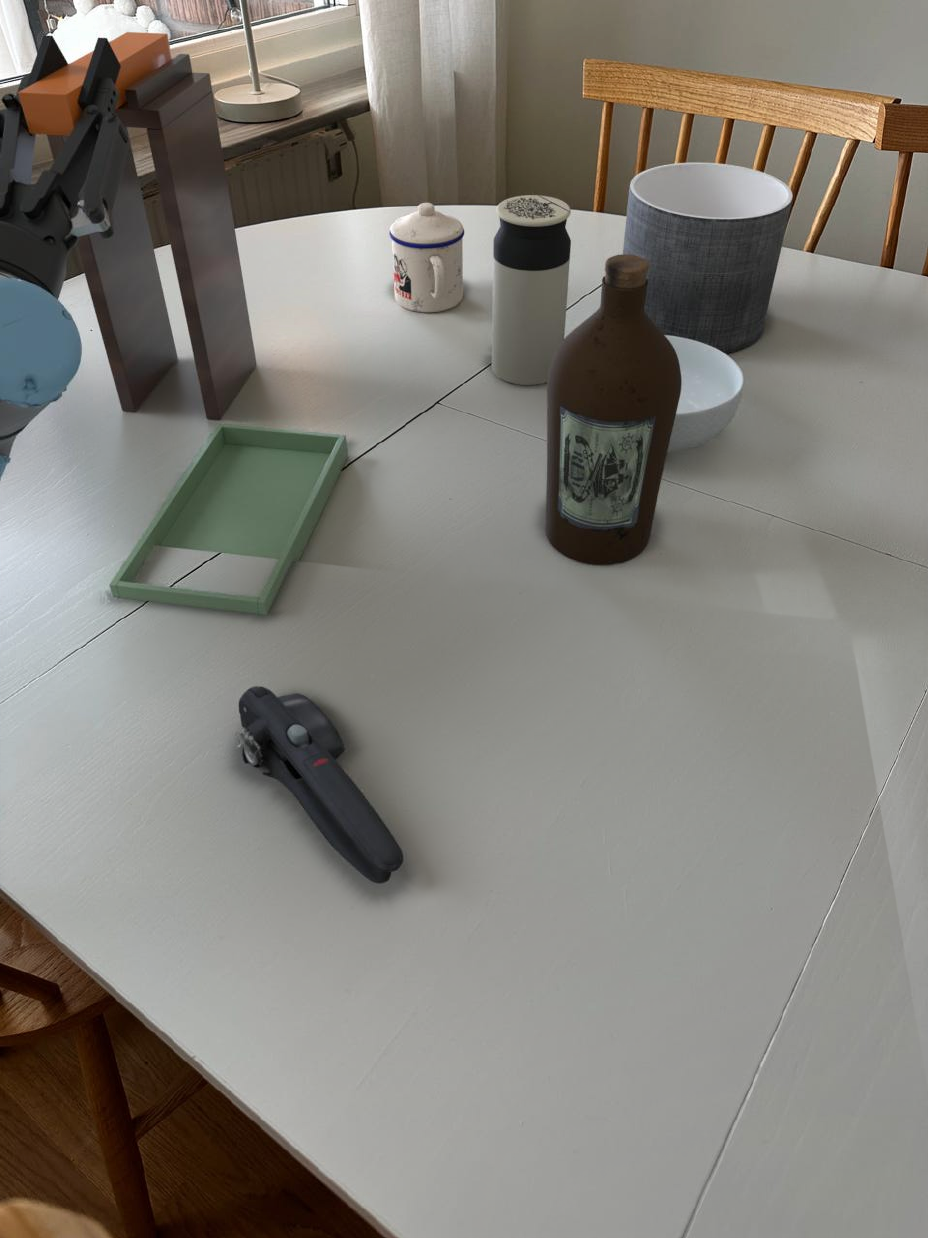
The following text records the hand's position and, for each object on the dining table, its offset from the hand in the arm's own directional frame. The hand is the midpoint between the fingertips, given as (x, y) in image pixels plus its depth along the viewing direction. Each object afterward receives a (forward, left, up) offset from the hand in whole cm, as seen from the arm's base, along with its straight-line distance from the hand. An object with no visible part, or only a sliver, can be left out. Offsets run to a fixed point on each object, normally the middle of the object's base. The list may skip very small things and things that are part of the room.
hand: (82, 51), depth 80 cm
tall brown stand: (0, +6, -34) cm, 35 cm away
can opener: (+30, -46, -34) cm, 65 cm away
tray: (+14, -17, -34) cm, 41 cm away
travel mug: (+36, +16, -34) cm, 52 cm away
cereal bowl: (+50, +5, -34) cm, 61 cm away
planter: (+54, +31, -34) cm, 71 cm away
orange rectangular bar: (0, +2, -4) cm, 5 cm away
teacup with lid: (+22, +31, -34) cm, 52 cm away
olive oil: (+46, -13, -34) cm, 59 cm away
